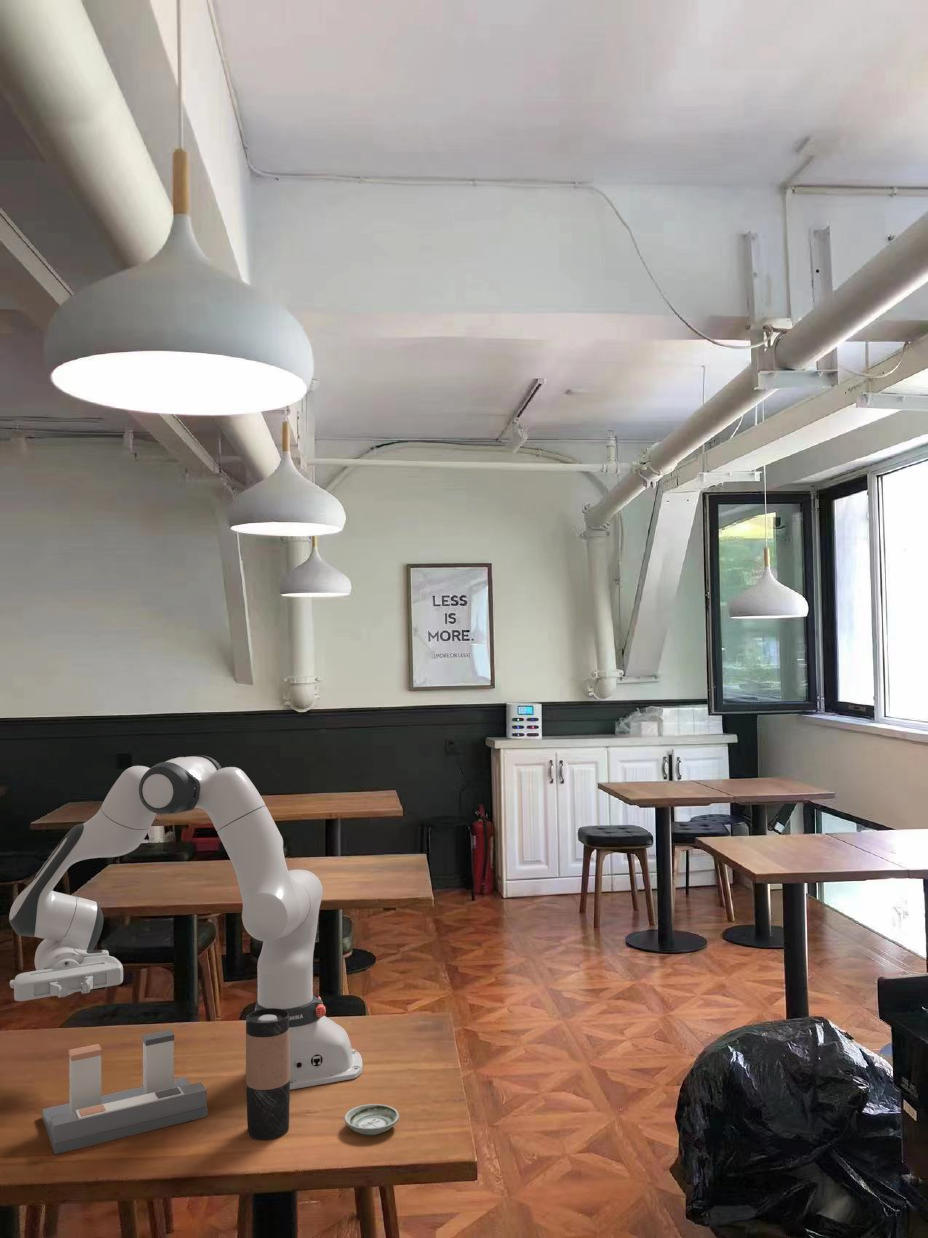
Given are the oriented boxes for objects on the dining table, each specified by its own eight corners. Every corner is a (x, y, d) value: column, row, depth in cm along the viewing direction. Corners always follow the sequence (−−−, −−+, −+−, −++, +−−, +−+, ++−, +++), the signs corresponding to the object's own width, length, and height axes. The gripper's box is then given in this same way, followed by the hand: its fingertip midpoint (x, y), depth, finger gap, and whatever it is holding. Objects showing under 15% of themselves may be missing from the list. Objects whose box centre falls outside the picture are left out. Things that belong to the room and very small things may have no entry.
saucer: (377, 1147, 167) (377, 1133, 167) (333, 1134, 172) (332, 1120, 172) (410, 1124, 175) (409, 1110, 175) (367, 1112, 180) (366, 1099, 180)
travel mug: (299, 1125, 175) (297, 1011, 176) (273, 1144, 168) (272, 1025, 169) (263, 1117, 179) (262, 1005, 179) (237, 1136, 172) (236, 1019, 173)
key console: (185, 1084, 193) (185, 1059, 193) (207, 1116, 179) (207, 1089, 180) (42, 1117, 180) (42, 1090, 180) (54, 1154, 166) (54, 1125, 167)
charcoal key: (142, 1094, 185) (142, 1035, 185) (170, 1088, 188) (170, 1029, 188) (146, 1101, 182) (146, 1040, 183) (174, 1094, 185) (174, 1034, 185)
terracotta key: (68, 1111, 178) (68, 1049, 179) (98, 1104, 181) (98, 1043, 181) (71, 1118, 176) (71, 1055, 176) (102, 1111, 178) (101, 1049, 179)
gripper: (8, 965, 196) (15, 984, 184) (115, 948, 207) (128, 965, 195) (8, 997, 196) (15, 1018, 184) (115, 978, 206) (128, 997, 194)
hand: (74, 991), depth 190 cm, fingers open, 3 cm apart
